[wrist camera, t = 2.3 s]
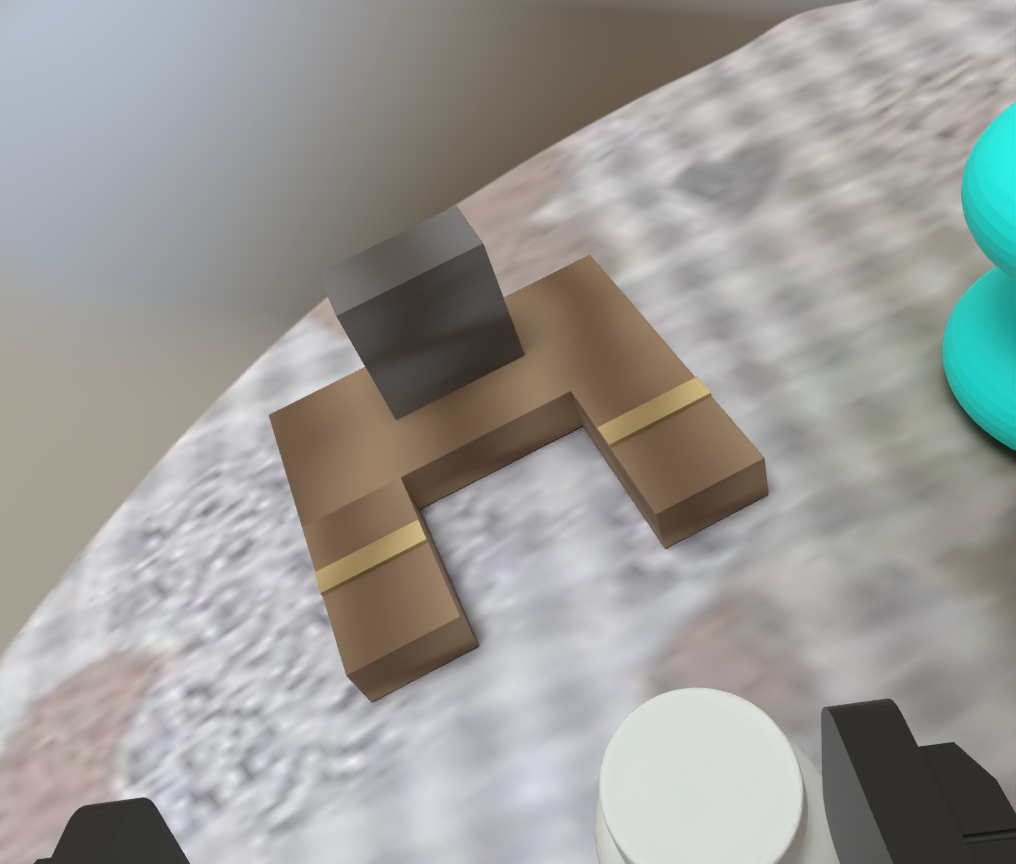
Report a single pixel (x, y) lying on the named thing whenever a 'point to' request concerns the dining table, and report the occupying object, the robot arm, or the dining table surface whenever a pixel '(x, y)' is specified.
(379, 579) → the brown grey u-shaped block
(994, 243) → the donuts
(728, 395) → the dining table surface
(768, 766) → the supplement bottle
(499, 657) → the dining table surface
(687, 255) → the dining table surface
